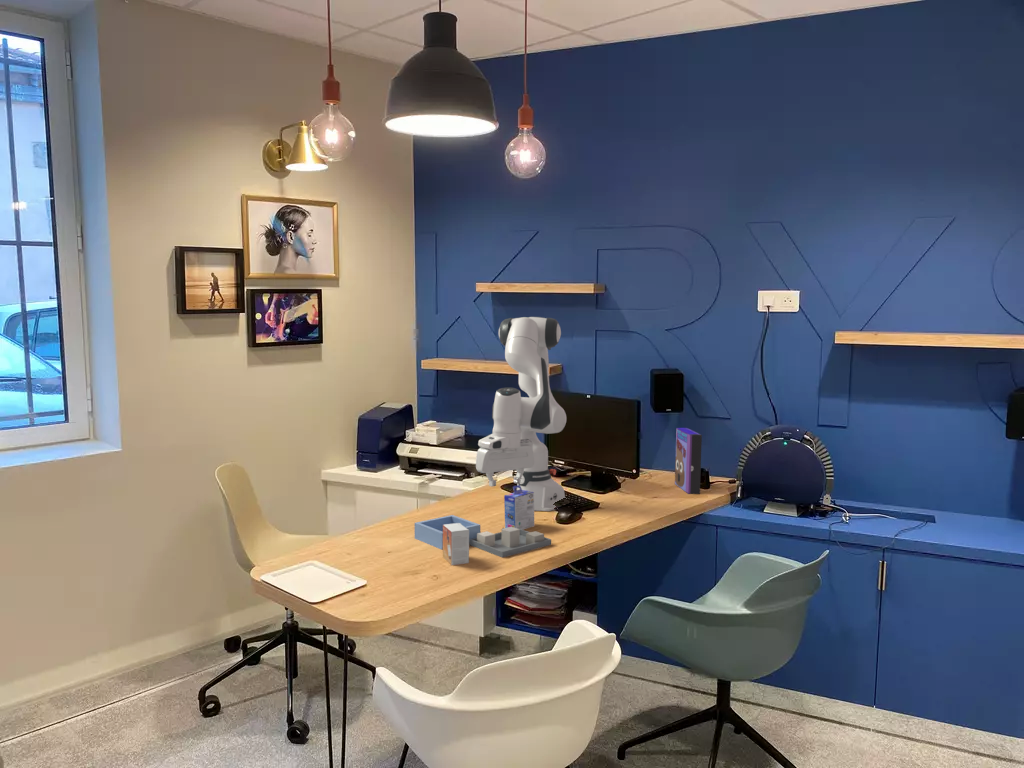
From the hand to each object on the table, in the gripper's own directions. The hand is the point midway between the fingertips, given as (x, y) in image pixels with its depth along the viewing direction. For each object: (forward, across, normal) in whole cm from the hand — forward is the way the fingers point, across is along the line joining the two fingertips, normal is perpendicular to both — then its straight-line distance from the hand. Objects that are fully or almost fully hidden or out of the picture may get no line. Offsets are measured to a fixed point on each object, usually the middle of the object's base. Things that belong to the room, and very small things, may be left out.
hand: (504, 484), depth 252 cm
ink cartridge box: (+19, -16, -12) cm, 28 cm away
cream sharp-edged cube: (+19, +4, -3) cm, 20 cm away
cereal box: (+16, -107, -18) cm, 109 cm away
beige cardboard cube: (+19, -2, +2) cm, 19 cm away
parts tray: (+20, -2, +2) cm, 20 cm away
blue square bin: (+20, +11, -14) cm, 27 cm away
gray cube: (+19, -8, +6) cm, 21 cm away
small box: (+20, +20, +4) cm, 29 cm away
